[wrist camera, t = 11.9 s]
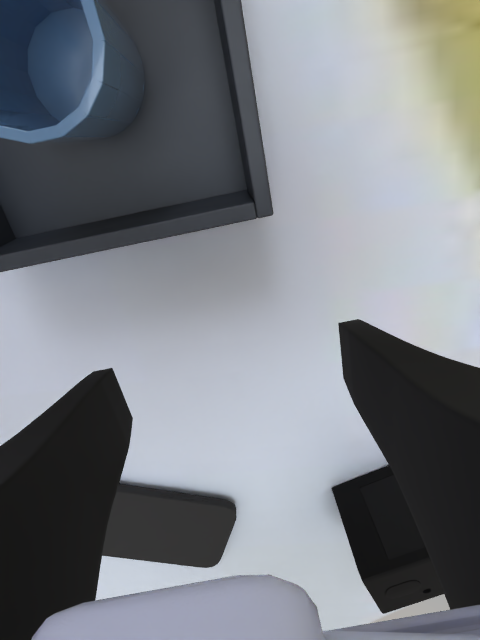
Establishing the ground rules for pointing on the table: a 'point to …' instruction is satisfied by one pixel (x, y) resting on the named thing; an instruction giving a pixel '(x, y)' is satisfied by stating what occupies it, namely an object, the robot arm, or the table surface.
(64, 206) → the tub
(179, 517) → the phone
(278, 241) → the table surface
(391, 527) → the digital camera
